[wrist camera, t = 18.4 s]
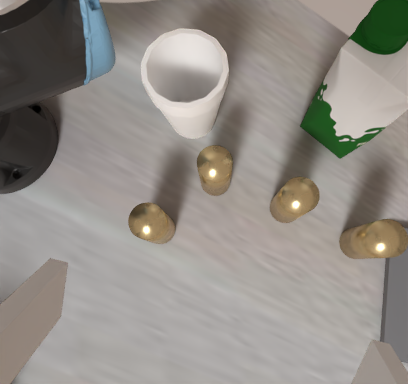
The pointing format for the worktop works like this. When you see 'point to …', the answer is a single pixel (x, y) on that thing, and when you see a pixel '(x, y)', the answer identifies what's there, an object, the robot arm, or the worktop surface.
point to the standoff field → (273, 211)
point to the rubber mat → (396, 305)
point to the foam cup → (186, 79)
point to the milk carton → (364, 82)
